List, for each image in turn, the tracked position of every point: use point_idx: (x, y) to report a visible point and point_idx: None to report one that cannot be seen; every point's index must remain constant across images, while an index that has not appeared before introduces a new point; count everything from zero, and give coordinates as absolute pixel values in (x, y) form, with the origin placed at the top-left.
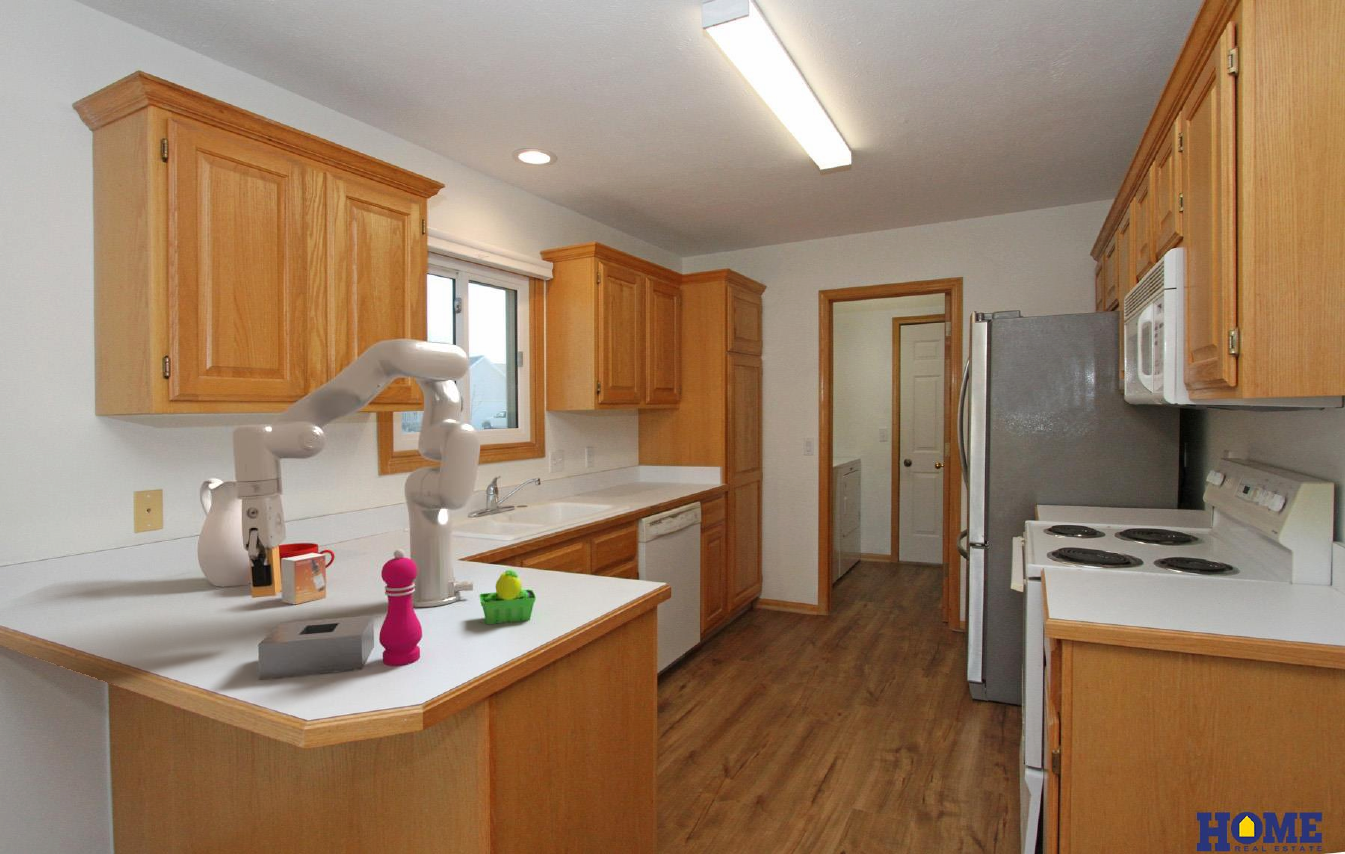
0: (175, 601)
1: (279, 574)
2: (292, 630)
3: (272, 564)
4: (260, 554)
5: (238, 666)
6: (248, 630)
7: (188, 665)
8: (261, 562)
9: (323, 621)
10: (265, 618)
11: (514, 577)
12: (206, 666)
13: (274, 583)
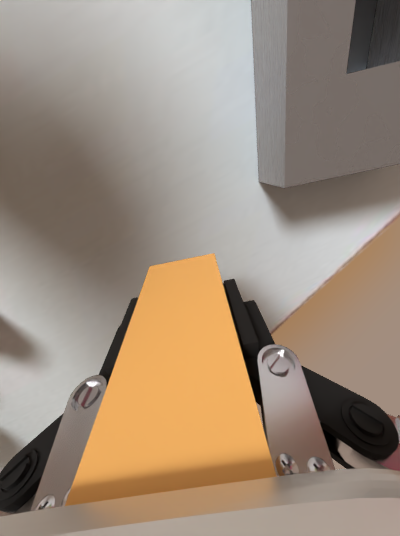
0: (29, 419)
1: (153, 298)
2: (380, 105)
3: (235, 337)
4: (394, 444)
5: (297, 228)
6: (123, 300)
7: (269, 297)
8: (319, 377)
9: (316, 20)
10: (61, 306)
11: None
12: (281, 273)
13: (219, 274)
